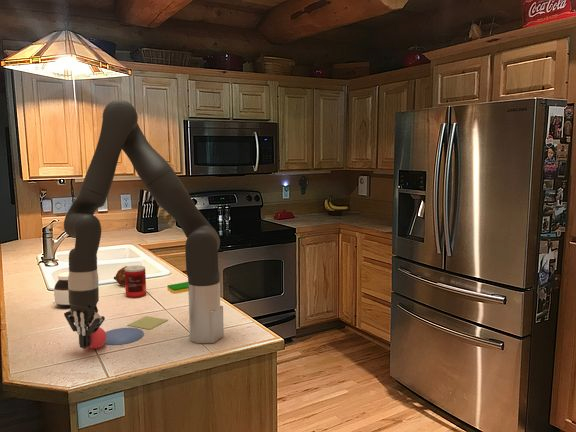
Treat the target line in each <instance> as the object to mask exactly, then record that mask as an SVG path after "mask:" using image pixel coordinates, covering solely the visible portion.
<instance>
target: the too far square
mask: <svg viewBox="0 0 576 432" xmlns="http://www.w3.org/2000/svg"><path fill="white" fill-rule="evenodd" d="M167 321H169V320H168V319H166V318H165V319H164V318H159V317H153V316H148V315H146V316H143V317H142V318H140V319H137V320H134V321H133V322H131V323H128V324H127V326H128V327H131V328H138V329H145V330H149V331H150V330H153V329H154V328H156V327H158V326H160V325H162V324H163V323H166V322H167Z"/></svg>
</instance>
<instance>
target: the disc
mask: <svg viewBox="0 0 576 432" xmlns="http://www.w3.org/2000/svg"><path fill="white" fill-rule="evenodd" d="M105 333H106V341H105V343H104V344H103V345H107V346H121V345H126V344H131V343H134V342H137V341H139V340H140V339H142V338H143V337H144V335H145V332H144V330H142V328H137V327H120V328H119V327H118V328H114V329H111V330H107V331H105Z"/></svg>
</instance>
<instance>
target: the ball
mask: <svg viewBox="0 0 576 432" xmlns="http://www.w3.org/2000/svg"><path fill="white" fill-rule="evenodd" d="M105 332H106V331H105V330H104V329H103V328H101V326H100V327H99V328H98V330H97V331H96V332H94V333H92V334H91V344H90V346H89V347H88V348H89V349H92V350H93V349H99V348H101V347H102V346H104V345H105V344H104V343H105V341H106V333H105Z"/></svg>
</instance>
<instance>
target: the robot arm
mask: <svg viewBox="0 0 576 432" xmlns="http://www.w3.org/2000/svg"><path fill="white" fill-rule="evenodd" d="M138 117H139V116H138V112H137V110H136V108H135V106H133V104H132V103H130V102H129V101H127V100H123V99H115V100H112V101H110V102H109V103H107V105H106V106H105V107H104V109H103V111H102V121H101V129H100V133H99V138H98V141H97V144H96V148H95V150H94V153H93V156H92V158H91V160H90V163H89V165H88V167H87V171H86V174H85V177H84V178H83V181H82V184H81V187H80V189H79V193H78V195H77V197H76V198H75V200H74V201H73V203H72V204H71V206H70V208H69V209H68V211H67V212H66V215H65V217H64V221H63V230H64V232H65V233H66V235H67V236H69V237H70V238H74V239H75V244H74V248H72V249H70V251H69V253H68V272H69V276H68V293H69V304H70V305H71V307H70V308H69V309H68V311H66V312H64V313H63V315H64V317H65V319H66V322H67V323H68V325H69V326H70V328H71V330H72V331H73V332H76V334H77V335H78V345H79V348H81V349H87V348H89V346H90V344H91V334H92V333H94V332H96V331H97V330H98V328H99V327H100V328H101V326H102V324H103V323H104V321H105V320H106V319H105V316H104V315H103V316H101V315H100V314H99V309H98V307H97V304H98V303H99V299H100V295H99V294H100V293H99V292H100V291H99V290H100V289H99V288H100V287H99V273H98V251H99V246H100V242H101V237H102V225H101V221H100V219H99V218H98V217H97V216H96V215H94V214H95V213H96V211H97V210H98V209H99V208H101V207H103V206H104V205H105V203H106V201H107V198H108V197H109V196H108V195H109V193H110V190H111V187H112V184H113V182H114V178H115V174H116V169H117V166H118V161H119V158H120V154H121V153H122V151H123V152H124V153H125V155H126V156H127V158H128V160H129V161H130V162H131V163H130V164H131V165H132V167H133V168H134V170H135V172H136V173H137V175H138V177H139V179H140V180H141V182H142V183H143V184H144V187H145V188H146V189H147V191H148V192H149V194H150V195H151V197H152V198H153V199H154V201H155V202H156V203H157V204H158V205H159V206H160V207H161V208H162V209H163V210H164V211H165V212H167V214H168V215H169V216H170V217H172V219H174V220H175V222H177V224H178V225H179V226H180V228H181V230H182V232H183V233H184V235H185V237H186V241H185V248H184V250H185V252H184V253H185V271H186V275H187V282H188V291H187V292H188V316H189V318H188V319H189V320H188V323H189V325H188V326H189V340H190V341H191V342H193V343H197V344H214V343H216V342H217V341H219V340H220V339H221V338H223V337H224V335H225V334H224V332H225V331H224V330H225V329H224V306H223V305H221V280H220V279H221V275H220V270H219V250H220V249H219V248H220V246H221V238H220V236H219V234H218V232H217V230H216V229H215V228H214V227H213V226H212V225H211V223H209V221H208V220H207V219H206V218H205V216H204V215H203V214H202V212H201V211H200V209H198V207H197V206H196V204H195V202H194V200H193V198H192V196H190V193H189V192H188V190H187V189H186V187H185V185H184V184H183V182H182V180H181V179H180V177H179V176H178V174H177V173H176V171H175V170H174V169H173V167H172V166H171V164H170V163H169V162H168V161H167V160H166V159H165V158H164V157H163V156H162V155H161V154H160V153H159V152H158V151H157V150H156V149H154V147H153V146H152V145H151V143H149V141H148V139H147V138H146V136H145V135H144V133H143V131H142V129H141V128H140V126H139V123H138V119H139V118H138Z"/></svg>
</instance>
